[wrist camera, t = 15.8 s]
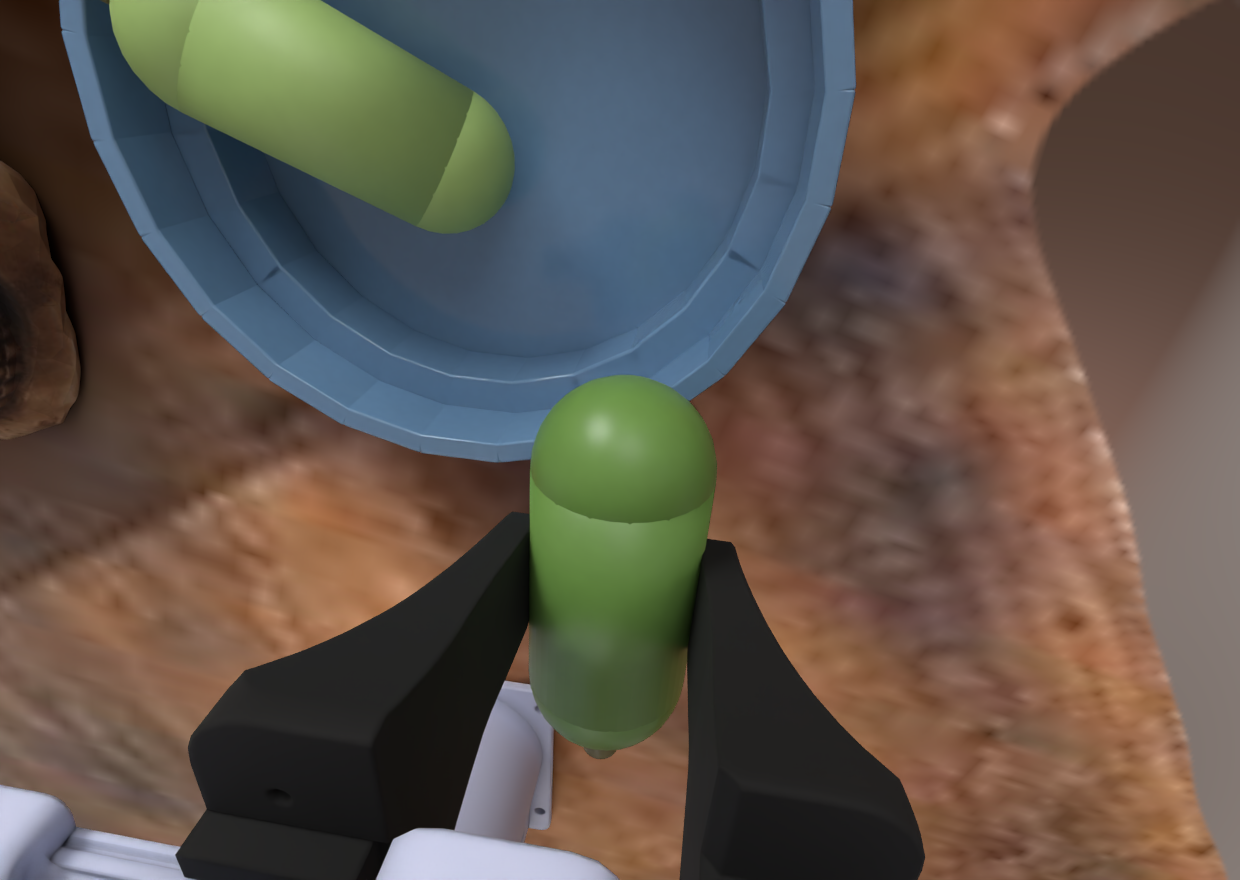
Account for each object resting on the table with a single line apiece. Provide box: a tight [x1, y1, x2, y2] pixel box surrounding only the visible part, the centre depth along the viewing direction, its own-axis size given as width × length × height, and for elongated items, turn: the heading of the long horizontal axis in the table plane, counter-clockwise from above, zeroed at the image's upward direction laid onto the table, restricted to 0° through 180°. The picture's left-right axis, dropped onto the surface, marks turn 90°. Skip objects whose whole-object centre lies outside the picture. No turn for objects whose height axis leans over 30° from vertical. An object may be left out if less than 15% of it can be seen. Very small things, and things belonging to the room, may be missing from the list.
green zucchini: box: [529, 375, 717, 759], centre depth 15 cm, size 10×4×4 cm, turn 176°
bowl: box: [59, 0, 856, 463], centre depth 17 cm, size 17×17×4 cm
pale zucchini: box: [100, 0, 515, 234], centre depth 16 cm, size 10×4×4 cm, turn 58°
